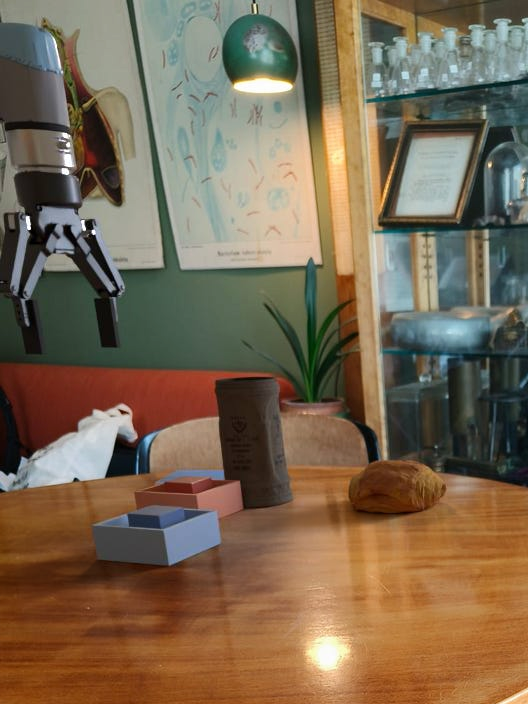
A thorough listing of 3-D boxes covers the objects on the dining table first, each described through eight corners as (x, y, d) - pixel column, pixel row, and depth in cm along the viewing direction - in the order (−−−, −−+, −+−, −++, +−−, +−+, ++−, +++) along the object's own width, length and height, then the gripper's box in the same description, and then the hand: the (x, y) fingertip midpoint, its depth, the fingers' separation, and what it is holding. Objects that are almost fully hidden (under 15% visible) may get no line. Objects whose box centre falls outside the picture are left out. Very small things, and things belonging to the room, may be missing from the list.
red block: (168, 514, 136) (163, 481, 134) (189, 507, 140) (184, 475, 138) (196, 516, 134) (191, 483, 132) (215, 508, 138) (211, 477, 136)
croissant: (373, 506, 150) (364, 458, 148) (457, 497, 144) (450, 448, 142) (332, 523, 137) (322, 472, 135) (423, 515, 131) (414, 461, 129)
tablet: (278, 474, 167) (277, 467, 167) (261, 488, 156) (260, 480, 155) (178, 476, 168) (177, 469, 168) (153, 489, 156) (152, 482, 156)
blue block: (133, 550, 116) (126, 513, 114) (158, 541, 120) (152, 505, 119) (164, 553, 114) (158, 515, 113) (188, 543, 119) (183, 507, 117)
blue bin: (97, 559, 115) (90, 525, 113) (153, 538, 124) (148, 506, 123) (169, 566, 111) (163, 530, 109) (221, 543, 121) (217, 510, 119)
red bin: (138, 521, 134) (133, 491, 132) (184, 505, 144) (180, 477, 142) (200, 526, 130) (196, 495, 129) (243, 509, 140) (240, 480, 139)
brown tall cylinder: (284, 508, 140) (273, 377, 134) (217, 509, 140) (203, 378, 134) (303, 494, 155) (294, 375, 149) (242, 495, 155) (230, 376, 149)
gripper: (-14, 159, 99) (24, 357, 107) (137, 182, 120) (159, 345, 128) (-64, 162, 101) (-24, 356, 109) (93, 184, 123) (117, 344, 131)
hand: (75, 351), depth 119 cm, fingers open, 13 cm apart
